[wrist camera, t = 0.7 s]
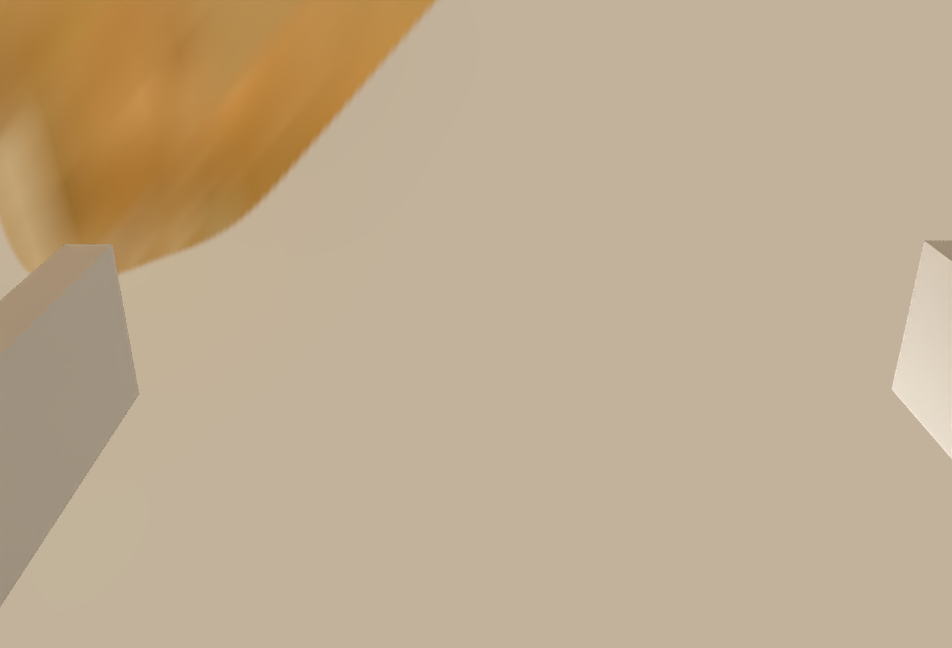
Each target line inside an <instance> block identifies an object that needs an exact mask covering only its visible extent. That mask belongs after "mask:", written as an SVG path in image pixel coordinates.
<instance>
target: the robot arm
mask: <svg viewBox="0 0 952 648" xmlns="http://www.w3.org/2000/svg"><path fill="white" fill-rule="evenodd" d="M892 390H893V392H894V393H895V394H896V395H897V396H898V397H899V398H900V399H901V401H902V402H903V403H904V404H905V405H906V406H907V408H908V409H909V410H910V411H911V412H912V413H913V415H914V416H915V417H916V418H917V419H918V420H919V422H920V423H921V424H922V425H923V426H924V427H925V428H926V430H927V431H928V432H929V433H930V434H931V435H932V437H933V438H934V439H935V440H936V441H937V442H938V443H939V445H940V446H941V447H942V448H943V449H944V450H945V452H946V453H947V454H948V455H949V456H950V457H951V459H952V241H924V245H923V249H922V254H921V259H920V263H919V268H918V273H917V277H916V282H915V286H914V290H913V295H912V299H911V304H910V309H909V313H908V318H907V323H906V327H905V332H904V336H903V340H902V345H901V349H900V354H899V359H898V363H897V368H896V372H895V377H894V382H893V386H892ZM138 395H139V391H138V385H137V380H136V374H135V369H134V364H133V358H132V352H131V346H130V341H129V335H128V330H127V324H126V319H125V313H124V308H123V302H122V296H121V291H120V285H119V280H118V274H117V269H116V263H115V258H114V252H113V246H112V244H88V245H63V246H62V247H61V248H60V249H59V250H58V251H56V252H55V253H54V254H53V255H52V256H51V257H50V258H48V259H47V260H46V261H45V262H44V263H43V264H41V265H40V266H39V267H38V268H37V269H36V270H35V271H33V272H32V273H31V274H30V275H29V276H28V277H27V278H25V279H24V280H23V281H22V282H21V283H20V284H19V285H17V286H16V287H15V288H14V289H13V290H12V291H11V292H10V293H8V294H7V295H6V296H5V297H4V298H3V299H1V300H0V606H1V605H2V603H3V602H4V600H5V599H6V597H7V595H8V594H9V593H10V591H11V589H12V588H13V586H14V585H15V583H16V582H17V580H18V579H19V577H20V576H21V574H22V573H23V571H24V570H25V568H26V567H27V565H28V563H29V562H30V560H31V559H32V557H33V556H34V554H35V553H36V551H37V550H38V548H39V547H40V545H41V544H42V542H43V541H44V539H45V537H46V536H47V534H48V532H49V531H50V529H51V528H52V527H53V525H54V524H55V522H56V521H57V519H58V518H59V516H60V514H61V513H62V511H63V510H64V508H65V507H66V505H67V504H68V502H69V501H70V499H71V498H72V496H73V495H74V493H75V491H76V490H77V488H78V487H79V485H80V484H81V482H82V481H83V479H84V478H85V476H86V475H87V473H88V472H89V470H90V469H91V467H92V465H93V464H94V462H95V461H96V459H97V458H98V456H99V454H100V453H101V452H102V450H103V449H104V447H105V446H106V444H107V442H108V441H109V439H110V438H111V436H112V435H113V433H114V432H115V430H116V429H117V427H118V425H119V424H120V423H121V421H122V419H123V418H124V416H125V415H126V413H127V412H128V410H129V409H130V407H131V406H132V404H133V402H134V401H135V400H136V398H137V396H138Z"/></svg>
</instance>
